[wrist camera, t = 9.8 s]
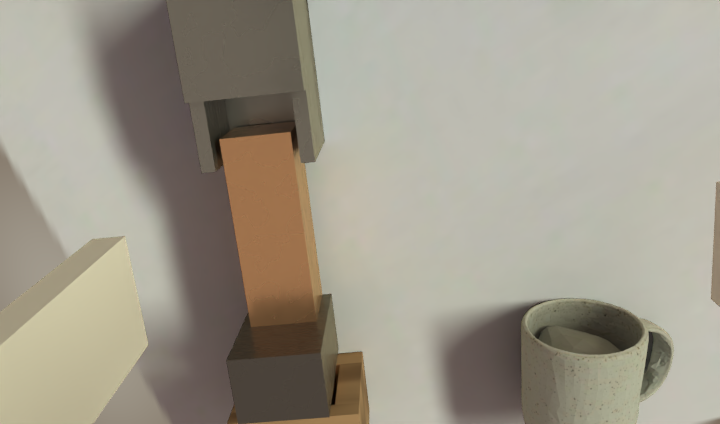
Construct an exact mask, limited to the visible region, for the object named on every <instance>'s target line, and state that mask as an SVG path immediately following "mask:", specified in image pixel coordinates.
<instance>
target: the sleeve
mask: <svg viewBox="0 0 720 424" xmlns="http://www.w3.org/2000/svg"><path fill="white" fill-rule="evenodd" d="M166 3H167V9H168V14H169V20H170V25H171V31H172V36H173V42H174V47H175V53H176V58H177V64H178V70H179V75H180V81H181V86H182V92H183V97H184V103H189V106H190V111H191V117H192V122H193V128H194V133H195V139H196V145H197V150H198V156H199V161H200V167H201V173H209V172H216V171H217V170H218V169H219V168H220V167H221V166H222V165H223V159H222V153H221V147H220V141H219V139H220V138H222V137H223V136H224V135H225V134H227V133H228V132H229V131H231V130H232V129H233V128H236V127H245V126H255V125H264V124H274V123H284V122H293V121H295V124H296V131H297V139H298V146H299V154H300V161H301V163H309V162H315V161H316V159H317V157H318V155H319V152H320V150H321V148H322V146H323V143H324V141H325V140H324V132H323V124H322V116H321V108H320V100H319V92H318V84H317V75H316V67H315V59H314V51H313V43H312V35H311V27H310V19H309V11H308V3H307V0H166Z"/></svg>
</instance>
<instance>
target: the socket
mask: <svg viewBox="0 0 720 424" xmlns="http://www.w3.org/2000/svg"><path fill="white" fill-rule="evenodd" d="M334 386H335V393H336V401H335V405H331V410H330V417H326V418H313V419H300V420H287V421H274V422H261V423H248V424H369V404H368V395H367V387H366V379H365V370H364V362H363V354H362V352H353V353H341V354H338V356H337V364H336V372H335V379H334ZM227 424H238V421H237V416H236V410H235V405H234V407H233V409H232V412H231V414H230V417H229V420H228V422H227Z"/></svg>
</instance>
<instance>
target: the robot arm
mask: <svg viewBox="0 0 720 424" xmlns="http://www.w3.org/2000/svg"><path fill="white" fill-rule="evenodd" d="M711 299H712V300H713V301H714V302H715V303H716V304H717V305H718V306H720V182H716V201H715V223H714V244H713V266H712V287H711ZM147 346H148V340H147V336H146V331H145V326H144V322H143V317H142V313H141V308H140V303H139V299H138V294H137V290H136V285H135V280H134V276H133V271H132V266H131V262H130V257H129V253H128V248H127V243H126V239H125V236H122V237H111V238H100V239H92V240H91V241H89V242H88V243H87V244H86V245H84V246H83V247H82V248H81V249H79V250H78V251H77V252H75V253H74V254H73V255H72V256H70V257H69V258H68V259H67V260H65V261H64V262H63V263H61V264H60V265H59V266H58V267H57V268H55V269H54V270H53V271H51V272H50V273H49V274H48V275H47V276H45V277H44V278H42V279H41V280H40V281H39V282H37V283H36V284H35V285H34V286H32V287H31V288H30V289H29V290H28V291H26V292H25V293H23V294H22V295H21V296H20V297H18V298H17V299H16V300H15V301H13V302H12V303H11V304H9V305H8V306H7V307H6V308H5V309H3V310H2V311H1V312H0V424H93V423H94V422H95V420H96V419H97V418H98V416H99V415H100V413H101V412H102V410H103V409H104V408H105V406H106V405H107V403H108V402H109V400H110V399H111V398H112V396H113V395H114V393H115V392H116V390H117V389H118V388H119V386H120V385H121V383H122V382H123V380H124V379H125V378H126V376H127V375H128V373H129V372H130V370H131V369H132V368H133V366H134V365H135V363H136V362H137V360H138V359H139V358H140V356H141V355H142V353H143V352H144V350H145V349H146V348H147Z"/></svg>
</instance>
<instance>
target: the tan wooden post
mask: <svg viewBox="0 0 720 424" xmlns="http://www.w3.org/2000/svg"><path fill="white" fill-rule="evenodd" d="M219 141H220V147H221V153H222V159H223V165H224V171H225V176H226V182H227V188H228V194H229V200H230V206H231V212H232V218H233V224H234V230H235V236H236V242H237V248H238V253H239V259H240V265H241V271H242V277H243V283H244V289H245V295H246V301H247V307H248V314H247V316H246V318H245V321H244V323H243V325H242V327H241V329H240V332H239V334H238V336H237V338H236V341H235V343H234V345H233V347H232V349H231V352H230V354H229V356H228V358H227V367H228V372H229V378H230V383H231V389H232V394H233V400H234V405H235V410H236V416H237V421H238V424H248V423H261V422H274V421H287V420H300V419H313V418H326V417H330V410H331V405H335V401H336V393H335V386H334V379H335V372H336V364H337V356H338V341H337V333H336V326H335V318H334V310H333V303H332V295H331V294H325V295H322V289H321V281H320V274H319V266H318V259H317V252H316V244H315V237H314V229H313V222H312V214H311V207H310V199H309V192H308V185H307V177H306V170H305V163H301V161H300V154H299V146H298V139H297V131H296V124H295V121H293V122H284V123H274V124H264V125H255V126H245V127H236V128H233V129H232V130H231V131H229V132H228V133H227V134H225V135H224V136H223V137H222V138H220V139H219Z"/></svg>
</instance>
